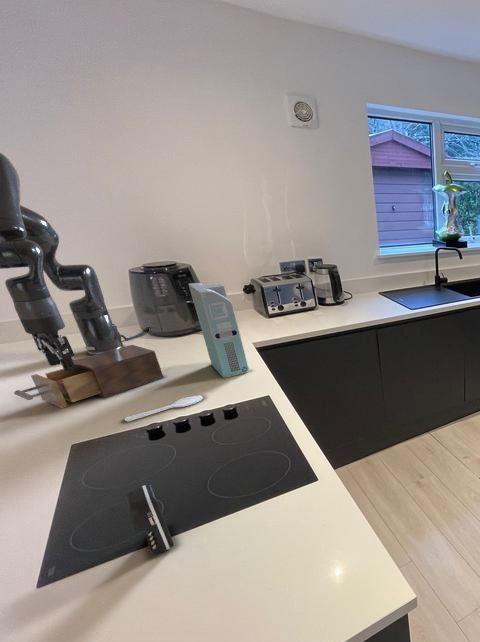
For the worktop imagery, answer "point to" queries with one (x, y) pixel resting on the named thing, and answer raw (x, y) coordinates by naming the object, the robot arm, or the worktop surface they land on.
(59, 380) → the block
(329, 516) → the worktop surface
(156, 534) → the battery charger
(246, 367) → the device
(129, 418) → the spoon
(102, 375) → the cabinet
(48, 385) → the drawer
